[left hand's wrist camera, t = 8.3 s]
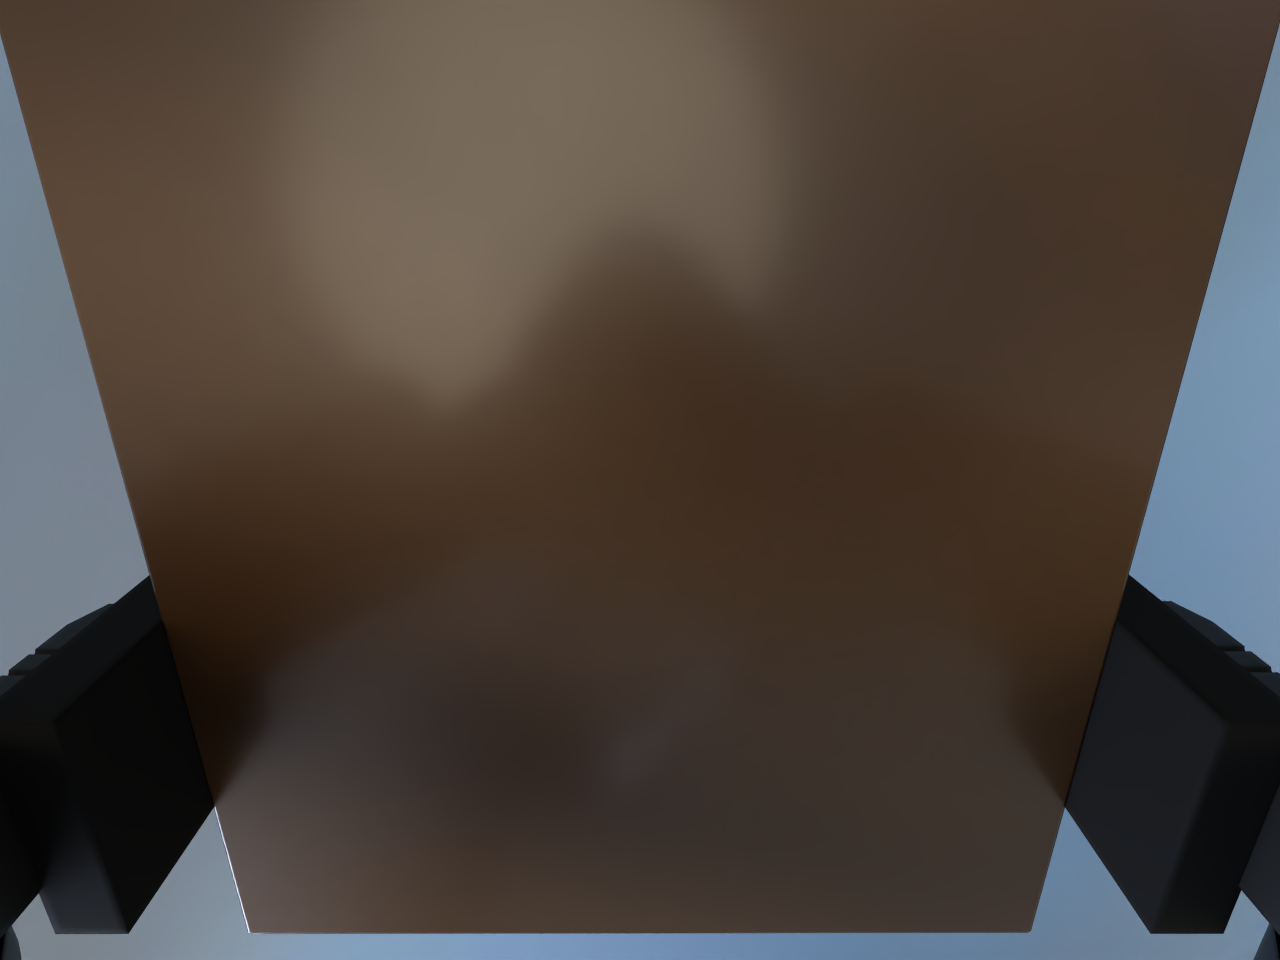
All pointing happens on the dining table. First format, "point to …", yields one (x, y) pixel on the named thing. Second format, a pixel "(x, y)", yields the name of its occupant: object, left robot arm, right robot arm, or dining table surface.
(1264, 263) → the dining table surface
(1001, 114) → the wooden drawer box
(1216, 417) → the dining table surface
